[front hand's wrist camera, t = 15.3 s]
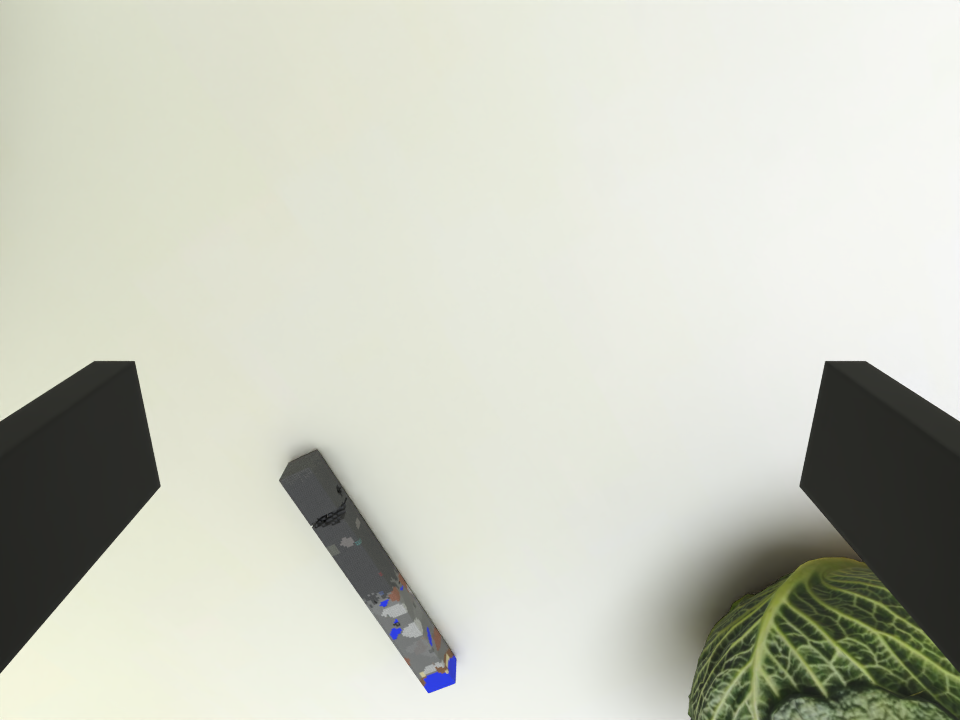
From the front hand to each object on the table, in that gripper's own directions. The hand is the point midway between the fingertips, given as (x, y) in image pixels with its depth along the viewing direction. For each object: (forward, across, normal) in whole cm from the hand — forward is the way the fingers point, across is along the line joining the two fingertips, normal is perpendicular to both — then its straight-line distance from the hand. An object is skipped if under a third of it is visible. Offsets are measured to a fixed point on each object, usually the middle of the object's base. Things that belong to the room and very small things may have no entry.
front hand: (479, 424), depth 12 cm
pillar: (+26, +7, +24) cm, 36 cm away
